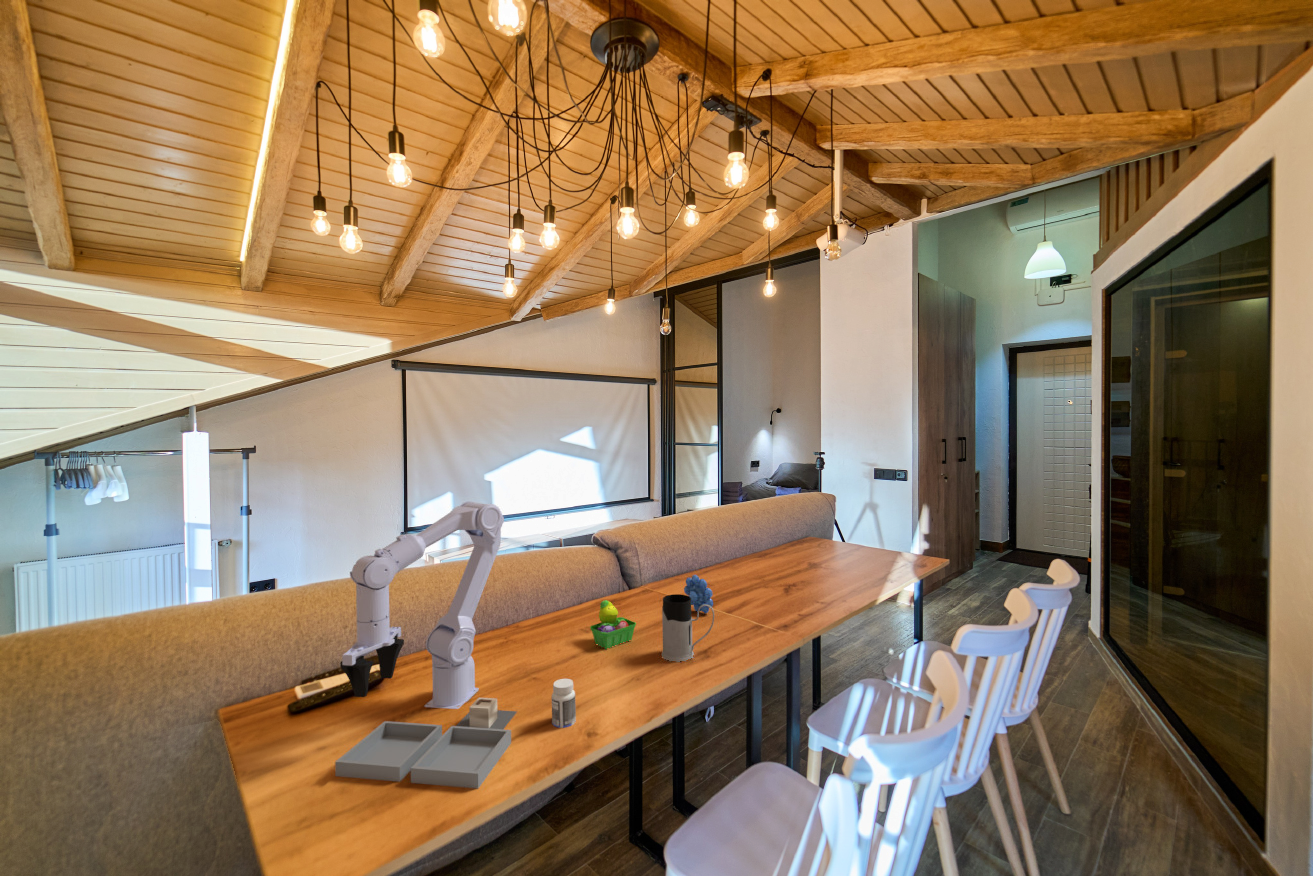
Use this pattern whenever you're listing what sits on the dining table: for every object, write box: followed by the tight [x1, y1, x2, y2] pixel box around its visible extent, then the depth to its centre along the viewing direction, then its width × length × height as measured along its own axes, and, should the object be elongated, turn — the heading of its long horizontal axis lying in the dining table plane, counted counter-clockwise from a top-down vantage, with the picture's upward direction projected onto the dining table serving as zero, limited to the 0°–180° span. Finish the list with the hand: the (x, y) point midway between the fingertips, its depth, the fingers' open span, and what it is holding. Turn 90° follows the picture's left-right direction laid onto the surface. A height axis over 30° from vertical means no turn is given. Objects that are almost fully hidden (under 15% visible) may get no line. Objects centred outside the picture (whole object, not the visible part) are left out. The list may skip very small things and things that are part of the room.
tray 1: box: [334, 720, 443, 782], centre depth 96 cm, size 13×12×3 cm
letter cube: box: [468, 697, 498, 728], centre depth 107 cm, size 4×4×4 cm
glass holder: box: [660, 593, 715, 663], centre depth 140 cm, size 9×14×15 cm, turn 78°
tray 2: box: [410, 725, 512, 790], centre depth 94 cm, size 13×12×3 cm
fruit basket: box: [589, 599, 637, 650], centre depth 150 cm, size 11×9×11 cm
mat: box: [455, 709, 518, 730], centre depth 107 cm, size 10×10×1 cm
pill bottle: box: [551, 678, 577, 729], centre depth 107 cm, size 5×5×8 cm
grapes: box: [683, 574, 714, 614], centre depth 173 cm, size 12×7×12 cm, turn 48°
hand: (374, 686), depth 104 cm, fingers open, 7 cm apart
